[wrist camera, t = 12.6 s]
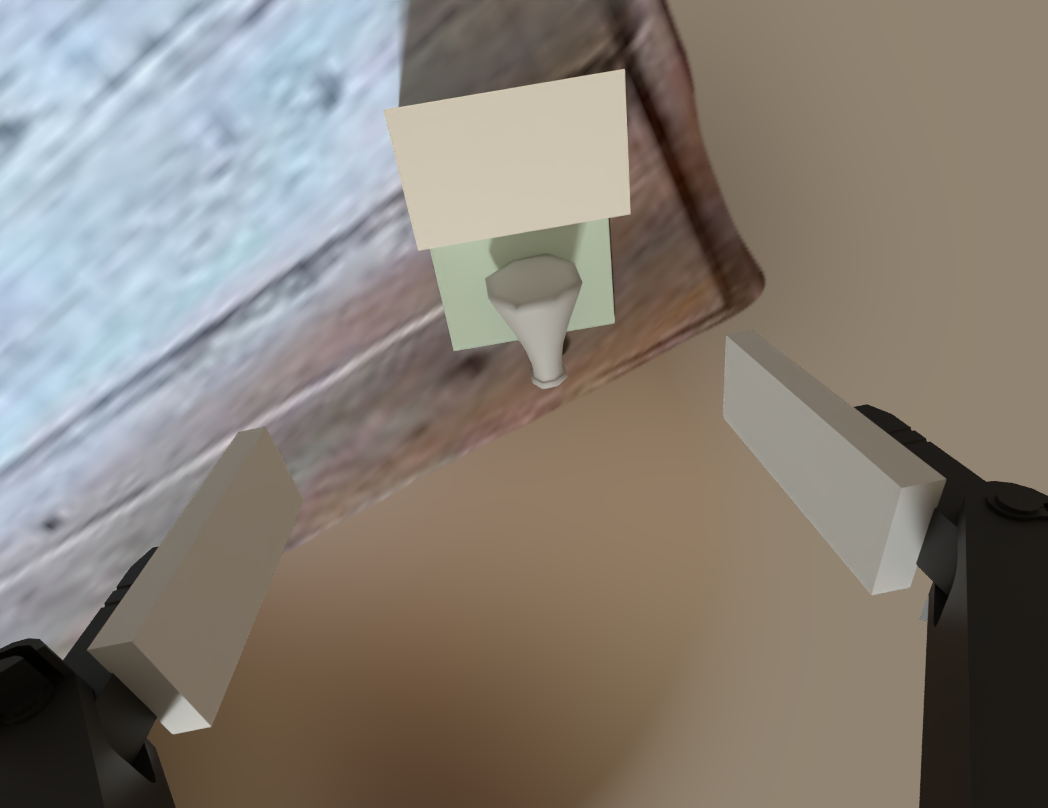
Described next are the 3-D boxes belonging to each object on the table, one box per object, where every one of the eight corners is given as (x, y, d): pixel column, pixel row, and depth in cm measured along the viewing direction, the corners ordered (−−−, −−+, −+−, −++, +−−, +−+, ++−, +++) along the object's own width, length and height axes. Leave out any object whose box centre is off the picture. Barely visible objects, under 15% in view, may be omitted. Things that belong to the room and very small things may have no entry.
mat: (426, 229, 39) (425, 231, 39) (605, 199, 39) (607, 200, 39) (454, 348, 44) (454, 351, 43) (612, 320, 44) (614, 323, 44)
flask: (469, 274, 39) (495, 370, 46) (508, 319, 34) (531, 418, 41) (551, 241, 41) (564, 339, 48) (599, 279, 36) (606, 382, 43)
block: (398, 111, 35) (383, 109, 29) (597, 77, 35) (624, 68, 29) (426, 229, 39) (418, 250, 33) (605, 199, 39) (630, 214, 33)
